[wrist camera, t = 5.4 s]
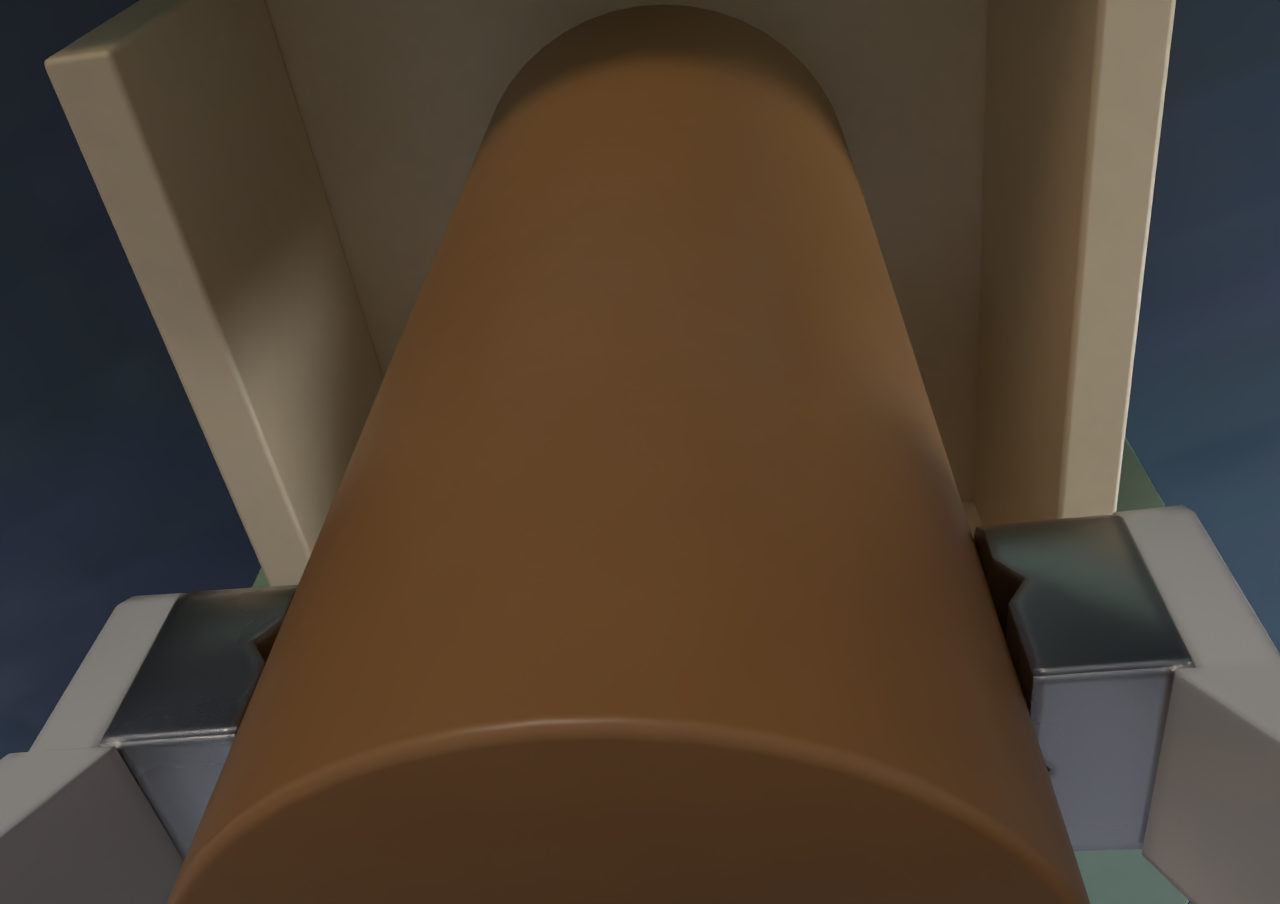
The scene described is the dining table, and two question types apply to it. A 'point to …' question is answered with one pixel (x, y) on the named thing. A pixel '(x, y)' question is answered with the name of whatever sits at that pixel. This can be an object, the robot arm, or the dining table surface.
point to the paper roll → (644, 543)
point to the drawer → (451, 136)
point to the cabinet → (1114, 879)
